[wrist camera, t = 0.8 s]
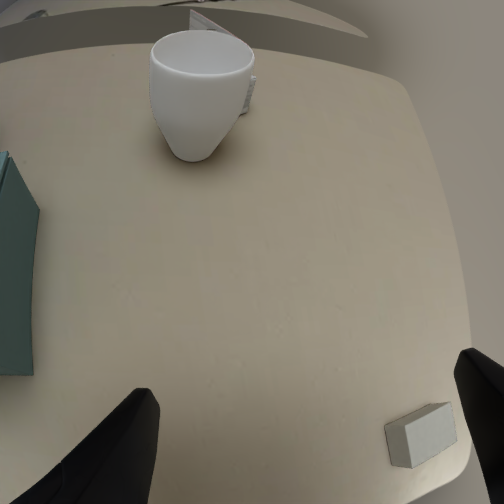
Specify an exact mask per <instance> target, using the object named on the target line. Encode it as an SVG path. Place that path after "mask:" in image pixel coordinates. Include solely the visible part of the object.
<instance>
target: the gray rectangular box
mask: <svg viewBox="0 0 504 504" xmlns="http://www.w3.org/2000/svg"><path fill="white" fill-rule="evenodd" d="M384 427H385V432H386V437H387V442H388V447H389V452H390V458H391V463H392V466H398V467H405V468H411V469H413V468H415V467H416V466H418V465H420V464H422V463H423V462H425V461H427V460H429V459H430V458H432V457H434V456H435V455H437V454H438V453H440V452H442V451H443V450H445V449H446V448H448V447H449V446H451V445H452V444H454V443H455V442H457V434H456V428H455V422H454V416H453V411H452V406H451V402H444V403H437V404H429V405H427V406H425V407H423V408H421V409H419V410H417V411H415V412H413V413H411V414H409V415H407V416H405V417H403V418H400V419H398V420H396V421H394V422H392V423H389V424H387V425H385V426H384Z"/></svg>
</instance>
